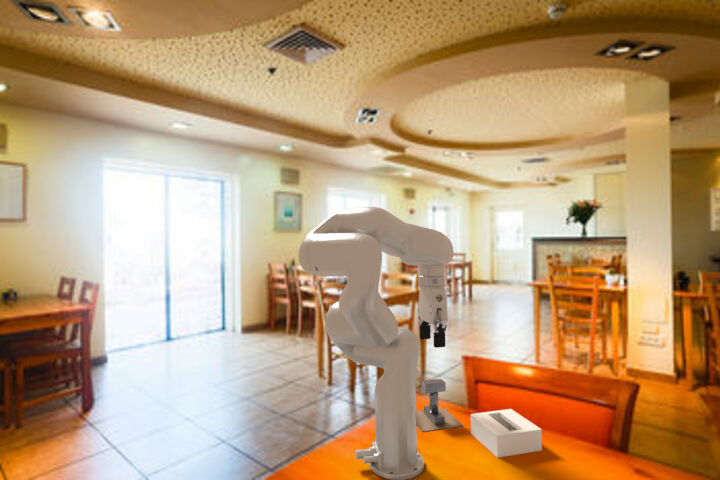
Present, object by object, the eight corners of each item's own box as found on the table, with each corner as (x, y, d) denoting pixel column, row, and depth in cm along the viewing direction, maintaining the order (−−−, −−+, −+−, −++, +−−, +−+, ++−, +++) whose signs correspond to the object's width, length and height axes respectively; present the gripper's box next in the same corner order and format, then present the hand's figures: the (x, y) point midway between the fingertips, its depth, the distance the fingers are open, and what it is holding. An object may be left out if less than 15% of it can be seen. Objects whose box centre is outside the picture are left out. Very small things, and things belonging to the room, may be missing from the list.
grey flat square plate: (422, 435, 104) (422, 431, 104) (406, 416, 115) (406, 412, 115) (463, 430, 107) (463, 425, 107) (443, 411, 118) (443, 407, 118)
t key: (450, 423, 108) (449, 385, 108) (429, 426, 106) (429, 387, 106) (438, 411, 116) (437, 375, 116) (418, 413, 114) (418, 377, 114)
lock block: (497, 461, 91) (497, 435, 91) (471, 437, 103) (470, 414, 103) (541, 454, 94) (541, 429, 94) (511, 431, 106) (510, 408, 106)
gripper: (458, 284, 104) (458, 349, 103) (431, 279, 120) (431, 335, 120) (431, 285, 102) (432, 351, 102) (408, 280, 119) (408, 337, 118)
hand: (432, 342), depth 111 cm, fingers open, 9 cm apart
